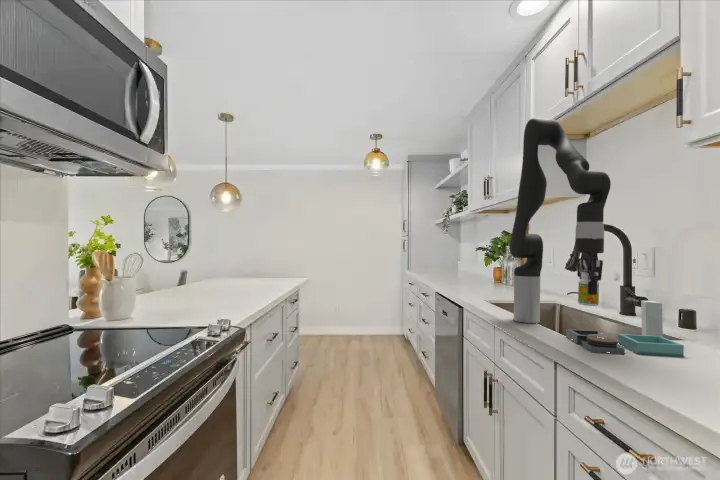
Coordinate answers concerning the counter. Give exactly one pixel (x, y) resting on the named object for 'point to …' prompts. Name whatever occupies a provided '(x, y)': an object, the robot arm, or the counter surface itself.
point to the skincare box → (651, 318)
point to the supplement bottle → (583, 292)
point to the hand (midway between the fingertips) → (588, 292)
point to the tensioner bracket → (595, 341)
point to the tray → (651, 345)
